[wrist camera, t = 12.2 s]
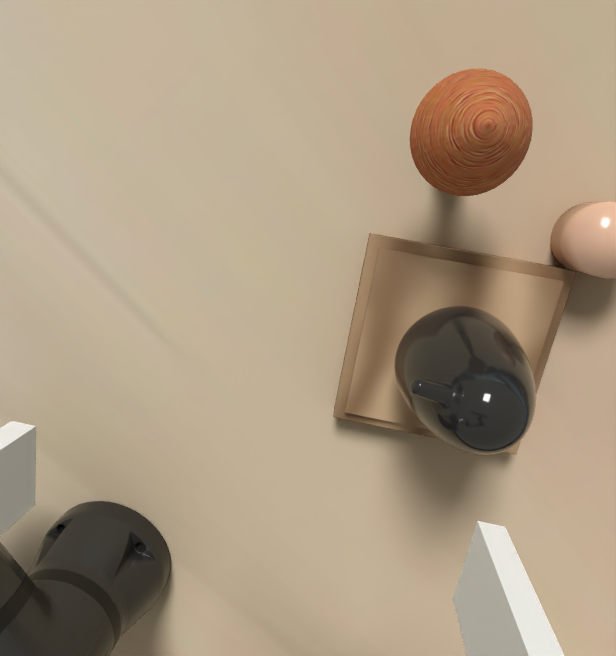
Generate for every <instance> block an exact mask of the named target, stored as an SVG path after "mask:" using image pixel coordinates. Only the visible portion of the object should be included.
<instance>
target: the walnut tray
mask: <svg viewBox="0 0 616 656" xmlns="http://www.w3.org/2000/svg"><path fill="white" fill-rule="evenodd" d="M575 274H576V271H573V270H569V269H566V268H561V267H555V266H550V265H544V264H538V263H533V262H527V261H522V260H516V259H510V258H505V257H499V256H494V255H488V254H483V253H477V252H471V251H466V250H460V249H455V248H449V247H443V246H438V245H432V244H427V243H421V242H415V241H410V240H404V239H399V238H393V237H387V236H382V235H376V234H371V233H370V234H369V239H368V244H367V249H366V254H365V259H364V264H363V268H362V273H361V278H360V283H359V288H358V293H357V298H356V303H355V308H354V313H353V318H352V323H351V328H350V333H349V338H348V343H347V348H346V353H345V358H344V363H343V368H342V372H341V377H340V382H339V387H338V392H337V397H336V402H335V407H334V415H333V417H336V418H341V419H346V420H351V421H356V422H361V423H366V424H371V425H376V426H380V427H385V428H390V429H395V430H400V431H405V432H410V433H415V434H419V435H424V436H429V437H434V438H438V437H437V436H436V435H435V434H433V433H432V432H431V431H430V430H429V429H427V428H426V427H425V426H424V425H423V424H422V423H421V422H420V421H419V420H418V419H417V418H416V416H415V415H414V414H413V413H412V411H411V410H410V409H409V407H408V406H407V404H406V402H405V401H404V399H403V397H402V395H401V393H400V391H399V389H398V386H397V382H396V378H395V371H394V362H395V355H396V351H397V348H398V345H399V343H400V341H401V339H402V337H403V336H404V334H405V333H406V332H407V330H408V329H409V328H410V327H411V326H412V325H413V324H414V323H415V322H416V321H418V320H419V319H420V318H422V317H423V316H425V315H427V314H428V313H431V312H433V311H435V310H438V309H441V308H446V307H452V306H467V307H473V308H478V309H481V310H483V311H486V312H488V313H490V314H492V315H494V316H495V317H497V318H498V319H499V320H501V321H502V322H503V323H504V324H505V325H506V326H507V327H508V328H509V329H510V330H511V331H512V332H513V334H514V335H515V336H516V338H517V339H518V341H519V343H520V344H521V346H522V348H523V350H524V352H525V354H526V356H527V358H528V360H529V363H530V366H531V369H532V372H533V376H534V381H535V389H536V393H537V390H538V387H539V384H540V380H541V377H542V374H543V371H544V368H545V365H546V362H547V359H548V356H549V353H550V350H551V347H552V344H553V341H554V338H555V335H556V332H557V329H558V326H559V323H560V320H561V317H562V314H563V310H564V307H565V304H566V301H567V298H568V295H569V292H570V289H571V286H572V283H573V280H574V277H575ZM439 439H440V438H439ZM520 441H521V440H520ZM520 441H519V442H518V443H517V444H516V445H515V446H513V447H512V448H510V449H508V450H506V451H504V452H507V453H512V454H517V450H518V447H519V444H520Z"/></svg>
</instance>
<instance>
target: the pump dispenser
mask: <svg viewBox="0 0 616 656" xmlns="http://www.w3.org/2000/svg"><path fill="white" fill-rule="evenodd" d="M394 371H395V378H396V382H397V386H398V389H399V391H400V393H401V395H402V397H403V399H404V401H405V402H406V404H407V406H408V407H409V409H410V410H411V411H412V413H413V414H414V415H415V416H416V418H417V419H418V420H419V421H420V422H421V423H422V424H423V425H424V426H425V427H426V428H427V429H429V430H430V431H431V432H432V433H433V434H435V435H436V436H437V437H438V438H440V439H441V440H443V441H444V442H446V443H447V444H449V445H451V446H453V447H455V448H457V449H459V450H462V451H465V452H468V453H472V454H479V455H491V454H497V453H501V452H504V451H506V450H508V449H510V448H512V447H513V446H515V445H516V444H517V443H518V442H519V441H520V440H521V439H522V438H523V437H524V436H525V434H526V433H527V431H528V430H529V428H530V425H531V423H532V420H533V417H534V412H535V405H536V389H535V381H534V376H533V372H532V369H531V366H530V363H529V360H528V358H527V356H526V354H525V352H524V350H523V348H522V346H521V344H520V343H519V341H518V339H517V338H516V336H515V335H514V334H513V332H512V331H511V330H510V329H509V328H508V327H507V326H506V325H505V324H504V323H503V322H502V321H501V320H499V319H498V318H497V317H495V316H494V315H492V314H490V313H488V312H486V311H483V310H481V309H478V308H473V307H467V306H452V307H446V308H441V309H438V310H435V311H433V312H431V313H428V314H427V315H425V316H423V317H422V318H420V319H419V320H418V321H416V322H415V323H414V324H413V325H412V326H411V327H410V328H409V329H408V330H407V332H406V333H405V334H404V336H403V337H402V339H401V341H400V343H399V345H398V348H397V351H396V355H395V362H394Z"/></svg>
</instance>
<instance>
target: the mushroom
mask: <svg viewBox="0 0 616 656" xmlns="http://www.w3.org/2000/svg"><path fill="white" fill-rule="evenodd" d="M531 136H532V114H531V109H530V106H529V103H528V100H527V99H526V97H525V95H524V93H523V92H522V90H521V89H520V88H519V87H518V85H517V84H516V83H514V82H513V81H512V80H511V79H510V78H508V77H506V76H505V75H503V74H501V73H498V72H495V71H493V70H487V69H469V70H463V71H460V72H457V73H454V74H452V75H450V76H448V77H446V78H444V79H443V80H442V81H440V82H439V83H438V84H436V85H435V86H434V87H433V88H432V89H431V90H430V91H429V92H428V93H427V94H426V96H425V97H424V98H423V100H422V101H421V103H420V105H419V106H418V108H417V110H416V113H415V115H414V118H413V121H412V126H411V131H410V148H411V153H412V157H413V160H414V163H415V165H416V167H417V169H418V170H419V172H420V174H421V175H422V176H423V177H424V178H425V180H426V181H427V182H428V183H430V184H431V185H432V186H433V187H435V188H437V189H439V190H440V191H442V192H445V193H448V194H452V195H457V196H471V195H478V194H481V193H484V192H487V191H489V190H492V189H494V188H496V187H497V186H499V185H500V184H502V183H503V182H505V181H506V180H507V179H508V178H509V177H510V176H511V175H512V174H513V173H514V172H515V171H516V170H517V168H518V167H519V166H520V164H521V162H522V161H523V159H524V157H525V155H526V153H527V151H528V148H529V145H530V141H531Z"/></svg>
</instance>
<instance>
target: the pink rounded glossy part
mask: <svg viewBox="0 0 616 656" xmlns="http://www.w3.org/2000/svg"><path fill="white" fill-rule="evenodd" d="M551 249H552V252H553V254H554V256H555V258H556V259H557V260H558V261H559V262H560V263H561V264H562V265H564V266H565V267H567V268H570V269H573V270H576V271H580V272H583V273H586V274H590V275H593V276H597V277H600V278H608V279H612V278H616V202H589V203H582V204H579V205H576V206H574V207H572V208H570V209H569V210H567V211H566V212H565V213H563V214H562V215H561V216H560V218H559V219H558V220H557V222H556V223H555V225H554V227H553V230H552V233H551Z"/></svg>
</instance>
